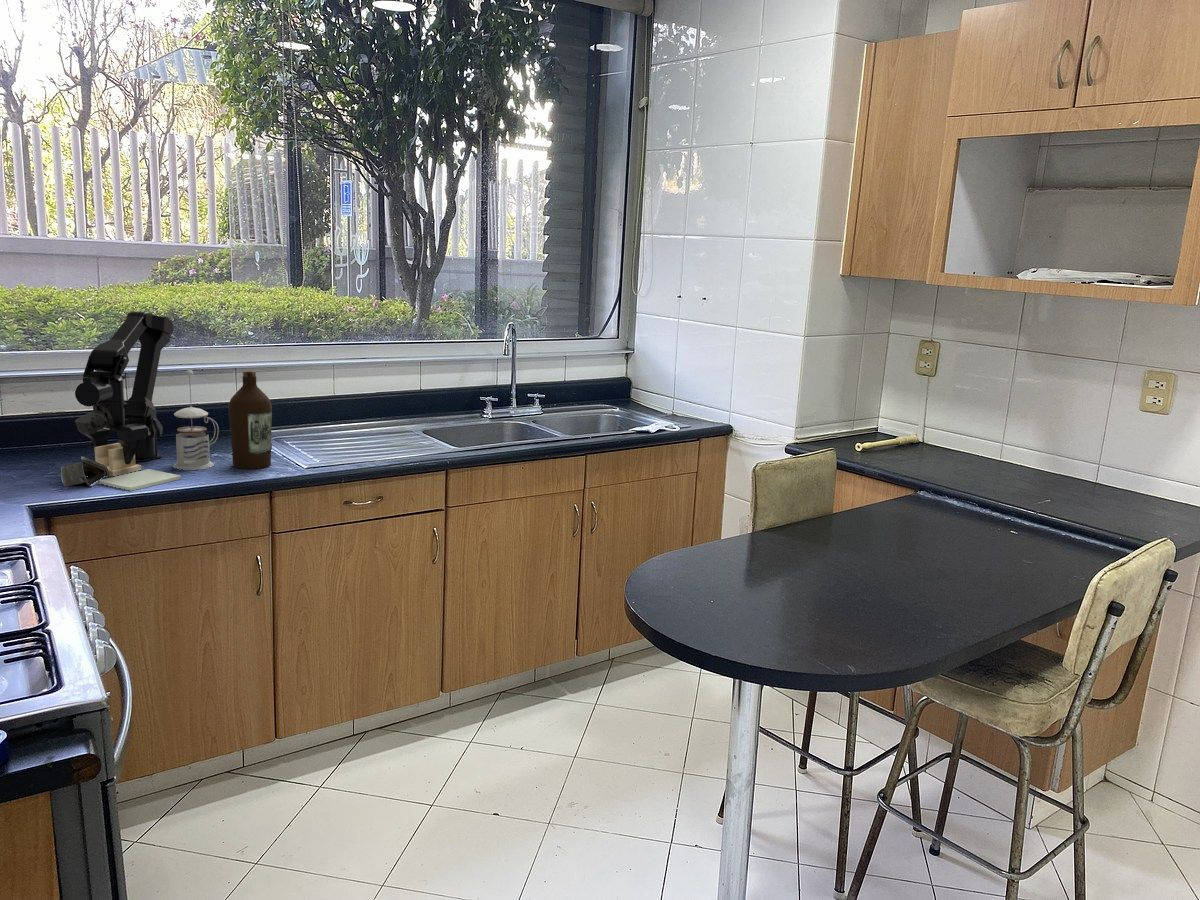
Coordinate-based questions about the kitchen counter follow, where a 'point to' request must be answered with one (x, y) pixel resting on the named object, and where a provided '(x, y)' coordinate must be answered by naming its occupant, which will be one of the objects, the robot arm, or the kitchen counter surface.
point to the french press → (193, 439)
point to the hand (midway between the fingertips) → (114, 461)
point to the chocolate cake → (83, 472)
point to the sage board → (139, 479)
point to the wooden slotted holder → (114, 459)
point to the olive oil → (250, 425)
